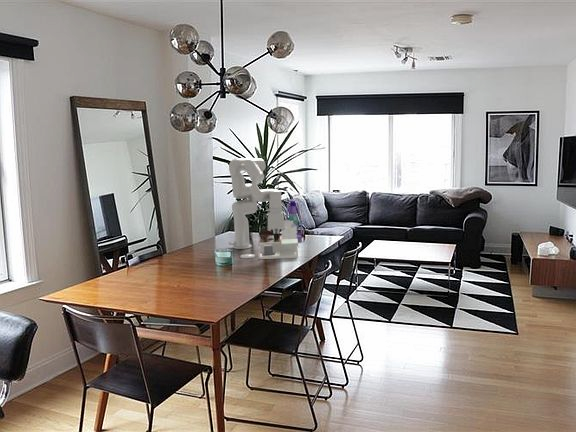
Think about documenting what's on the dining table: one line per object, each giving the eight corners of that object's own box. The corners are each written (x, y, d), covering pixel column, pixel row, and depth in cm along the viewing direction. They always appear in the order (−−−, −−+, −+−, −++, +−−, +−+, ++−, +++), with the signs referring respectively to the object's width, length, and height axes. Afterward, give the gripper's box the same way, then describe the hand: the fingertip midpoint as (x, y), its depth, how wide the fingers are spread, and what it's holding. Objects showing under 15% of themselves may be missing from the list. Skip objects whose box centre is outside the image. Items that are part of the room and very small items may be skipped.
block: (264, 257, 349) (264, 246, 348) (264, 255, 354) (264, 244, 353) (272, 257, 349) (272, 245, 348) (272, 255, 354) (272, 244, 353)
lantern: (289, 243, 391) (288, 200, 386) (281, 241, 401) (280, 199, 397) (306, 241, 397) (305, 198, 393) (298, 239, 407) (296, 197, 403)
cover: (279, 246, 343) (279, 240, 343) (280, 241, 358) (280, 236, 358) (298, 245, 343) (297, 239, 343) (297, 240, 358) (297, 235, 358)
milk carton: (290, 250, 366) (289, 221, 364) (282, 249, 370) (281, 221, 368) (297, 248, 372) (296, 220, 369) (288, 248, 376) (287, 219, 373)
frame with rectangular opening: (258, 259, 344) (257, 247, 343) (259, 254, 359) (259, 242, 358) (298, 257, 344) (297, 245, 343) (297, 252, 359) (297, 241, 358)
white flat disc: (239, 258, 348) (239, 257, 347) (241, 255, 356) (241, 254, 356) (254, 258, 347) (254, 256, 347) (255, 255, 356) (255, 253, 356)
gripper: (263, 211, 344) (264, 241, 347) (287, 210, 344) (288, 240, 347) (263, 209, 352) (264, 239, 355) (287, 209, 352) (288, 238, 354)
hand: (276, 239), depth 351 cm, fingers closed
